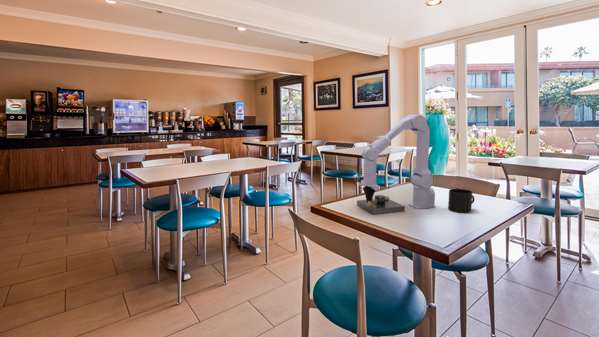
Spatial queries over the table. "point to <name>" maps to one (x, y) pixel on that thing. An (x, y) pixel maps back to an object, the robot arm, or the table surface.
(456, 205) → the mug
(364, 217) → the table surface
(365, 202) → the tribrach base
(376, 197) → the level knob
